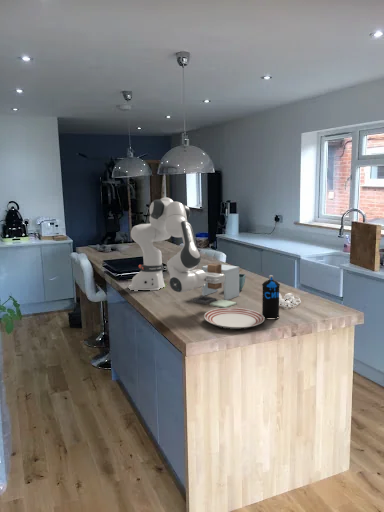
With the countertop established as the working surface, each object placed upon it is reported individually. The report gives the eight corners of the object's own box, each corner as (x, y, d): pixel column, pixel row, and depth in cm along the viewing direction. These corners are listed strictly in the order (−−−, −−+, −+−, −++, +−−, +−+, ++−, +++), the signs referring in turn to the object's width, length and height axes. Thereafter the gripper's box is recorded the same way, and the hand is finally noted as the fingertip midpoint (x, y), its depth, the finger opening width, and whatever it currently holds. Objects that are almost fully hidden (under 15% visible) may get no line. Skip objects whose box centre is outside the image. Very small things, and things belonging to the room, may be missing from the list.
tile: (225, 308, 219) (225, 306, 219) (209, 304, 226) (209, 303, 225) (236, 303, 226) (236, 302, 226) (221, 300, 233) (221, 299, 233)
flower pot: (245, 288, 257) (245, 274, 256) (242, 292, 249) (242, 277, 248) (231, 287, 260) (231, 273, 259) (227, 291, 252) (227, 276, 250)
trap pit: (205, 304, 227) (205, 302, 227) (192, 301, 233) (192, 299, 233) (216, 300, 233) (216, 298, 233) (203, 297, 239) (203, 295, 239)
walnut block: (215, 289, 215) (215, 265, 214) (207, 288, 219) (207, 264, 217) (221, 287, 219) (221, 264, 217) (213, 286, 222) (213, 263, 220)
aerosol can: (259, 314, 208) (260, 274, 204) (276, 314, 208) (277, 273, 205) (264, 320, 200) (264, 277, 196) (281, 319, 200) (282, 277, 197)
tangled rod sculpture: (303, 312, 216) (304, 304, 215) (274, 309, 217) (274, 301, 216) (298, 300, 234) (299, 292, 234) (271, 297, 236) (272, 290, 235)
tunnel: (226, 300, 233) (226, 270, 231) (202, 295, 245) (201, 266, 242) (239, 295, 242) (239, 266, 239) (215, 291, 253) (215, 263, 250)
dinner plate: (266, 315, 208) (266, 308, 207) (262, 335, 181) (262, 327, 181) (210, 312, 214) (209, 305, 213) (198, 331, 187) (198, 323, 187)
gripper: (214, 274, 201) (232, 270, 211) (182, 269, 214) (200, 265, 225) (214, 288, 202) (232, 282, 212) (182, 282, 215) (200, 277, 226)
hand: (215, 273), depth 218 cm, fingers closed on walnut block, 5 cm apart
